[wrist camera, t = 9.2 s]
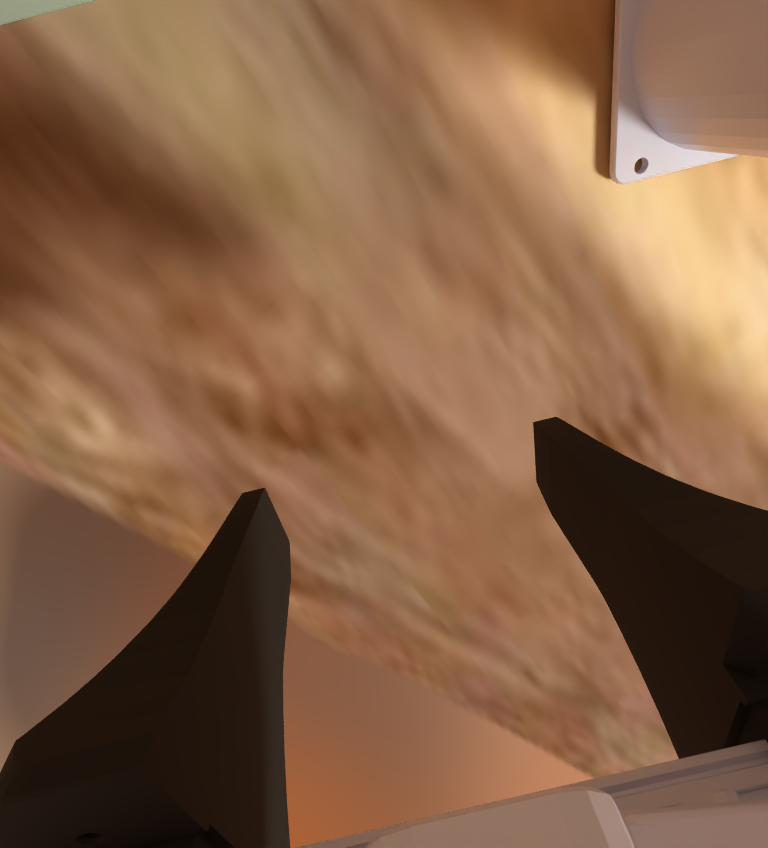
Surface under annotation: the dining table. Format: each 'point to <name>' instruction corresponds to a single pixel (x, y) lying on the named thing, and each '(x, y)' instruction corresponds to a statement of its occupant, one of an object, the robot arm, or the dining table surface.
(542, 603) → the dining table surface
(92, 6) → the dining table surface
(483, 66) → the dining table surface
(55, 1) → the t mat
